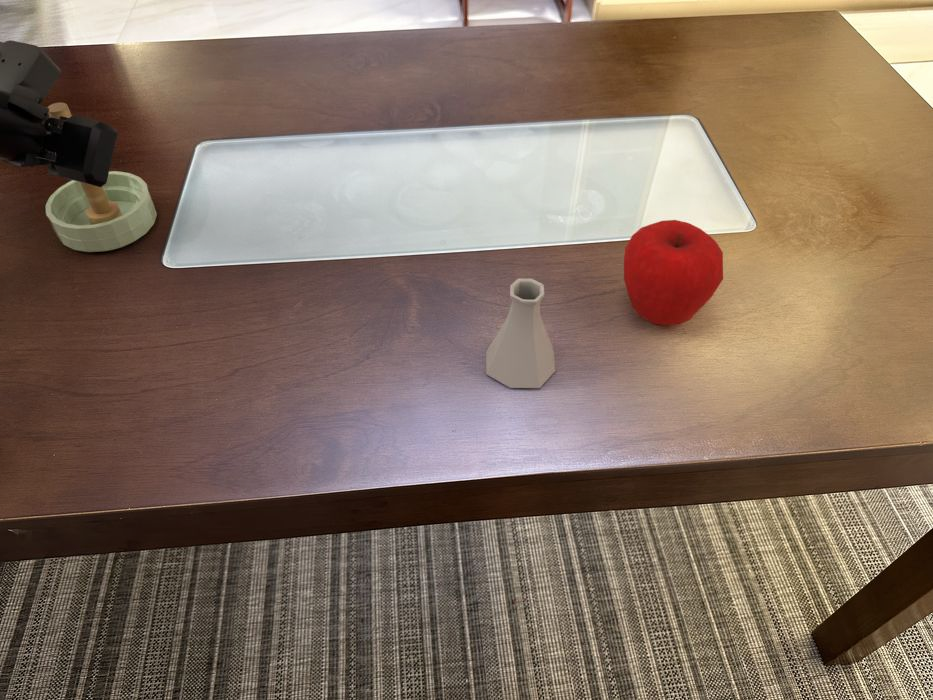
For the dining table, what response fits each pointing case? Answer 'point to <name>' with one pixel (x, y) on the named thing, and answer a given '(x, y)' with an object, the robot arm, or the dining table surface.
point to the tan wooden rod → (96, 196)
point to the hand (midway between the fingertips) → (90, 158)
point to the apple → (671, 271)
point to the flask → (522, 341)
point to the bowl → (80, 235)
